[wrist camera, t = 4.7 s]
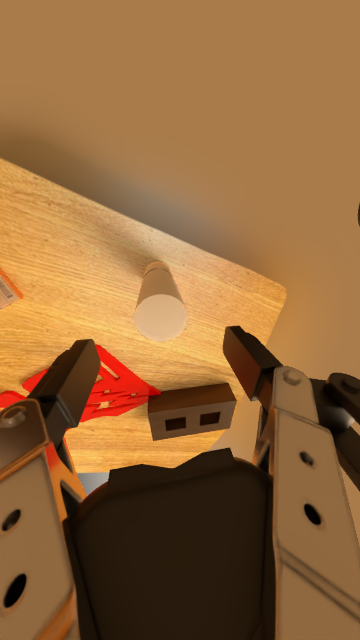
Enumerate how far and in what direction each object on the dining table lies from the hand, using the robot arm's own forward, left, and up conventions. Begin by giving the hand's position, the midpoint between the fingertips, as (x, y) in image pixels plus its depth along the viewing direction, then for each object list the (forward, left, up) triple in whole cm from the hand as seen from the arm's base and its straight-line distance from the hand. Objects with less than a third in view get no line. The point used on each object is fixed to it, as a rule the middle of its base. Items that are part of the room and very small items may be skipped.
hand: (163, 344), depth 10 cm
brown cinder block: (-6, +35, -18) cm, 40 cm away
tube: (0, 0, -18) cm, 18 cm away
